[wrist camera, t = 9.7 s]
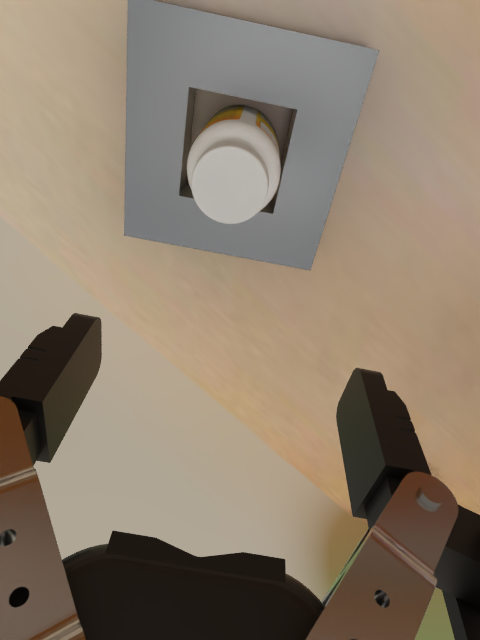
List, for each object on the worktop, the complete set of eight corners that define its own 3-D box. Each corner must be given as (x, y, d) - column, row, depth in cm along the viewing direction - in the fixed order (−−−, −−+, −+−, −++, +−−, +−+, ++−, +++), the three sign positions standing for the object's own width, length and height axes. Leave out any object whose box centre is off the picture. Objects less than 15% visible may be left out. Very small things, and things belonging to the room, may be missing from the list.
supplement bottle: (193, 172, 30) (166, 219, 22) (213, 92, 27) (190, 113, 19) (263, 195, 30) (261, 249, 22) (289, 120, 28) (298, 152, 20)
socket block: (368, 49, 25) (379, 50, 23) (307, 253, 33) (310, 270, 30) (142, -1, 24) (128, -6, 22) (135, 220, 32) (124, 235, 30)
